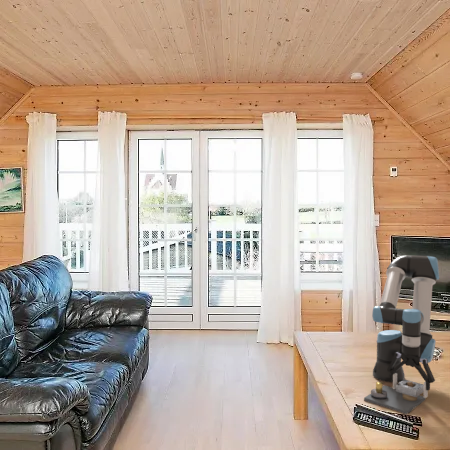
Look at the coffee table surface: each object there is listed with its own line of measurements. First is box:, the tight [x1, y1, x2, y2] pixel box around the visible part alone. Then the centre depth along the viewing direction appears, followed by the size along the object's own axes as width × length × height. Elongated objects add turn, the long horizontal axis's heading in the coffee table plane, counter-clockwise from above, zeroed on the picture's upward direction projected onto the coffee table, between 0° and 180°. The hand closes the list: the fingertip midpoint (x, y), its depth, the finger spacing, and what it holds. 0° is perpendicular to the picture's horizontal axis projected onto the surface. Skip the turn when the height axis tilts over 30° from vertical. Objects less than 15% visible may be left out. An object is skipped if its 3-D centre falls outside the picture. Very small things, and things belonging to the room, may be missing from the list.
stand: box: [403, 381, 417, 401], centre depth 201 cm, size 6×6×7 cm
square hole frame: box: [396, 379, 424, 397], centre depth 201 cm, size 9×9×3 cm
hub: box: [370, 381, 387, 400], centre depth 203 cm, size 7×7×6 cm
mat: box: [363, 385, 426, 415], centre depth 202 cm, size 20×19×1 cm
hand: (409, 392), depth 201 cm, fingers open, 13 cm apart
